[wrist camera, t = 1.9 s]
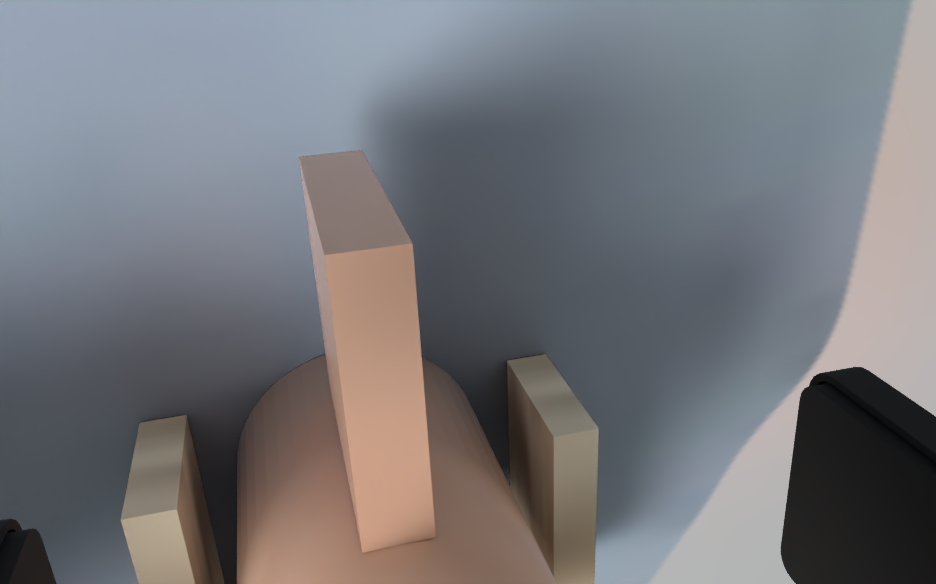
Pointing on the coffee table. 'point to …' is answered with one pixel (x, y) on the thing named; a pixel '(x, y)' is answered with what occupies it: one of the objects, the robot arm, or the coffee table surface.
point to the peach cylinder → (371, 428)
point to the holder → (531, 480)
